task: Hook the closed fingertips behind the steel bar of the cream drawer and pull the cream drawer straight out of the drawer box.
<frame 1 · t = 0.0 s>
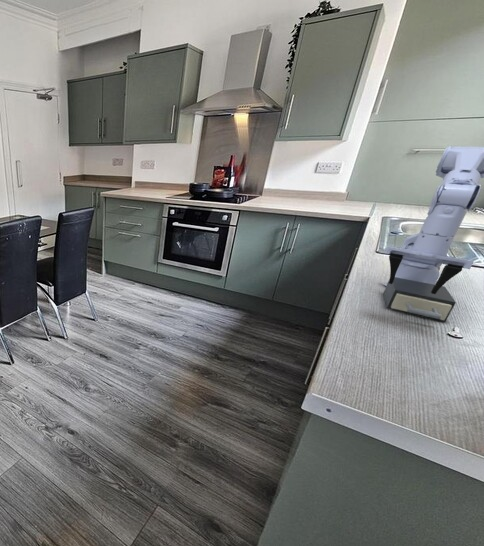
hand: (411, 288, 78), 11 cm above the worktop, tool pointing down, fingers open, 7 cm apart
cream drawer: (418, 303, 87), point 3 cm above the worktop, slide at 0.0 cm, touching drawer box
potato: (413, 277, 112), on the worktop
drawer box: (411, 306, 91), on the worktop
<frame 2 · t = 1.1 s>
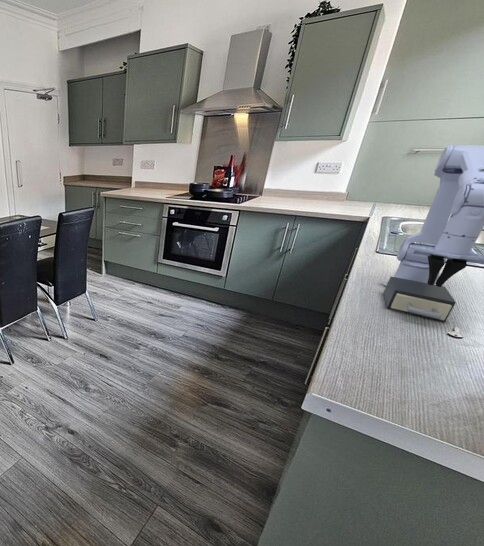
hand: (433, 284, 81), 10 cm above the worktop, tool pointing down, fingers closed
nothing on the worktop moved.
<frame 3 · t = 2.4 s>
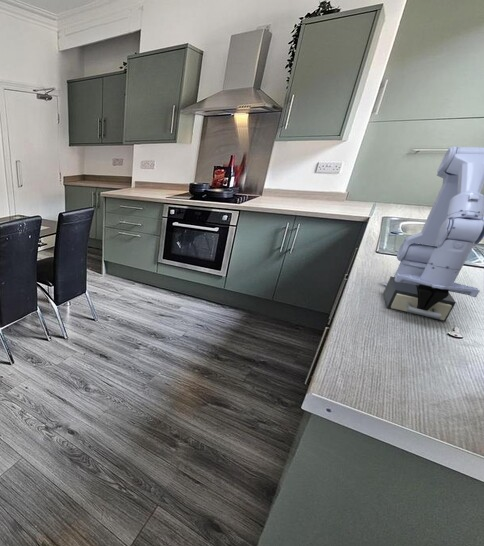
hand: (420, 312, 84), 2 cm above the worktop, tool pointing down, fingers closed, pressing on cream drawer
cream drawer: (418, 303, 87), point 3 cm above the worktop, slide at 0.0 cm, touching drawer box, gripper
everything else where it was.
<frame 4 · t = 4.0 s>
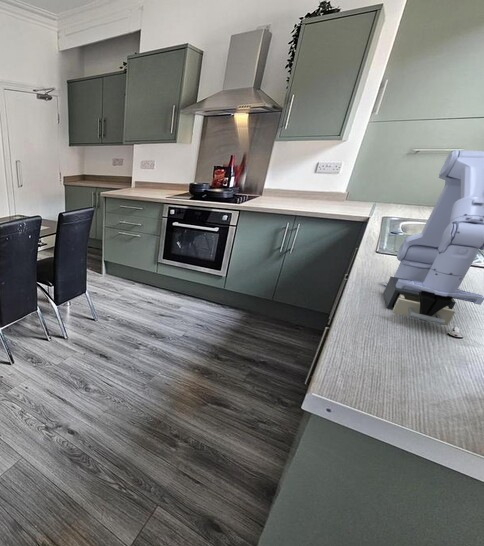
hand: (422, 319, 81), 2 cm above the worktop, tool pointing down, fingers closed, pressing on cream drawer
cream drawer: (420, 307, 84), point 3 cm above the worktop, slide at 3.6 cm, touching gripper
everything else where it was.
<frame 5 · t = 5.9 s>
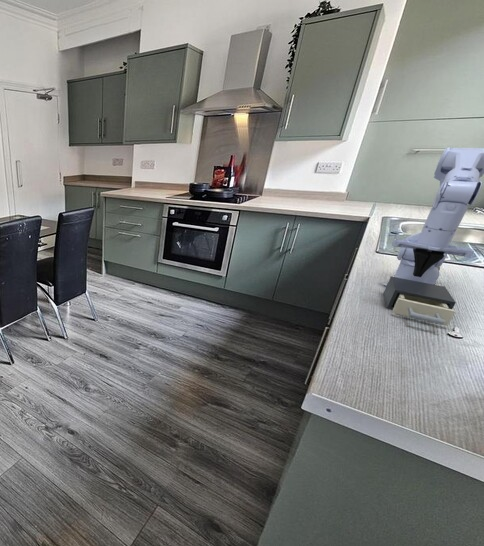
hand: (416, 275, 87), 10 cm above the worktop, tool pointing down, fingers closed
cream drawer: (420, 307, 84), point 3 cm above the worktop, slide at 3.6 cm
everything else where it was.
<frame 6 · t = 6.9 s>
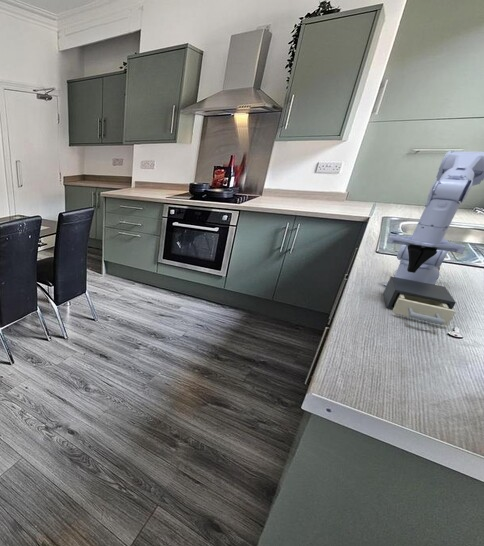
hand: (410, 271, 89), 10 cm above the worktop, tool pointing down, fingers closed
nothing on the worktop moved.
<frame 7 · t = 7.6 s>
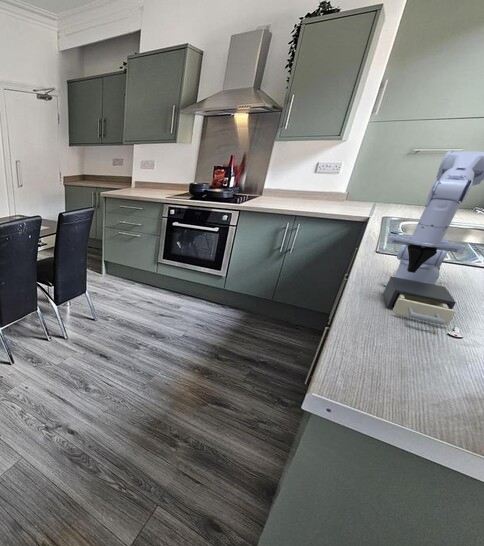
hand: (410, 271, 89), 10 cm above the worktop, tool pointing down, fingers closed
nothing on the worktop moved.
at the end: cream drawer slide at 3.6 cm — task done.
